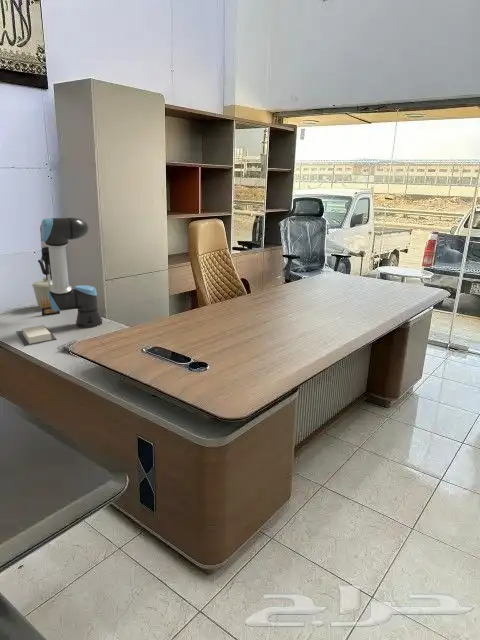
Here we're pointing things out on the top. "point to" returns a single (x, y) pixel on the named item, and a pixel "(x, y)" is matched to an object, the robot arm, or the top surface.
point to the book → (36, 334)
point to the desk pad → (25, 342)
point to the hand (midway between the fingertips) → (50, 285)
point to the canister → (41, 290)
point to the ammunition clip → (47, 306)
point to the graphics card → (66, 346)
